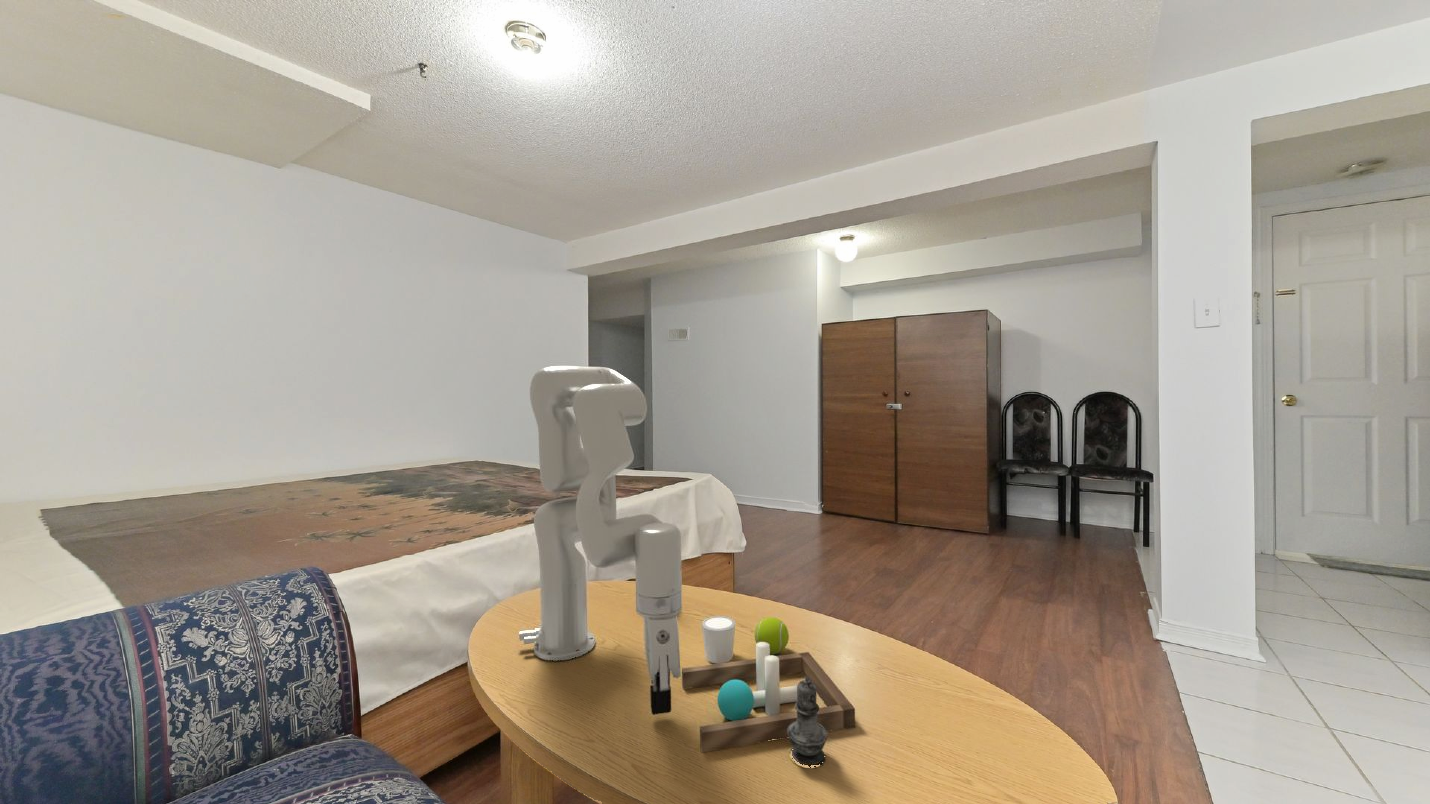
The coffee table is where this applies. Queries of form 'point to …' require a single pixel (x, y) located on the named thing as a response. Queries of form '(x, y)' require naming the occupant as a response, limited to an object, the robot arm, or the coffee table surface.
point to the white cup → (718, 638)
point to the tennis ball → (772, 634)
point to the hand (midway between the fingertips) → (661, 710)
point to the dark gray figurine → (807, 727)
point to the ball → (735, 700)
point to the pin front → (785, 696)
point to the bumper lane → (772, 726)
